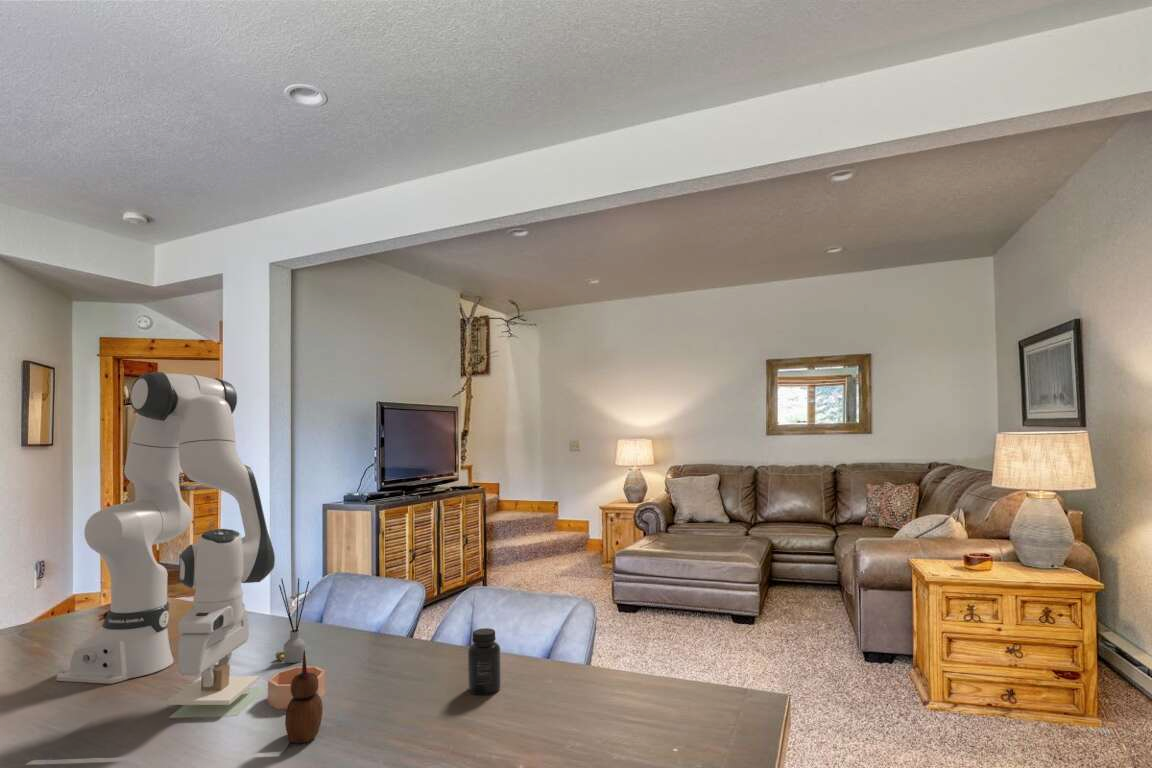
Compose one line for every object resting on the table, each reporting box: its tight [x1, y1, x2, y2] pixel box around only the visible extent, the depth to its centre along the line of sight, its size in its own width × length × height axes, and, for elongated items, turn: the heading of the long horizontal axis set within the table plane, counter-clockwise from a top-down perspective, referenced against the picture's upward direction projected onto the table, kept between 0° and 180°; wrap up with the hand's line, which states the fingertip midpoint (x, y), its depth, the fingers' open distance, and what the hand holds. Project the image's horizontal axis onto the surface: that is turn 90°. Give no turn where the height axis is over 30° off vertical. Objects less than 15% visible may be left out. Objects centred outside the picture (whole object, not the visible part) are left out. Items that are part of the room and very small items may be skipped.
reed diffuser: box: [275, 578, 310, 664], centre depth 153 cm, size 10×7×20 cm
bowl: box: [267, 665, 327, 710], centre depth 132 cm, size 10×10×5 cm
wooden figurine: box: [284, 649, 324, 744], centre depth 117 cm, size 7×6×15 cm
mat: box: [168, 687, 267, 719], centre depth 131 cm, size 13×13×1 cm
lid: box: [166, 664, 260, 706], centre depth 131 cm, size 12×12×5 cm
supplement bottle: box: [467, 628, 502, 696], centre depth 137 cm, size 7×7×12 cm
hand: (215, 681), depth 131 cm, fingers closed on lid, 3 cm apart
